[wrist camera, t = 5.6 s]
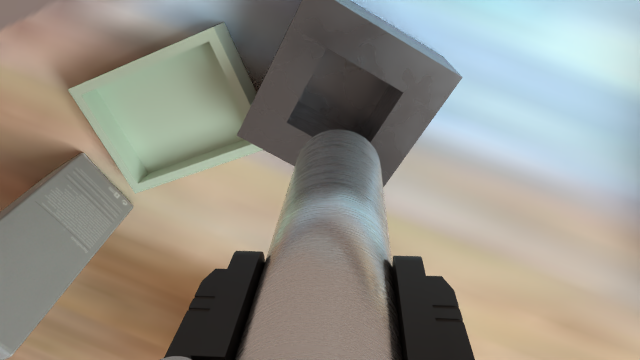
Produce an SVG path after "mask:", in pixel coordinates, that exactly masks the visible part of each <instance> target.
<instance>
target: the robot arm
mask: <svg viewBox="0 0 640 360" xmlns="http://www.w3.org/2000/svg"><path fill="white" fill-rule="evenodd" d="M264 264H265V259H264V254H263V252H255V251H236V252H235V253H234V255H233V257H232V259H231V262H230V264H229V266H228V269H215V270H214V271H213V272H212V273H210V274H209V275H208V276H207V277H206V278H205V279H204V280H203V281H202V282H201V284H200V286H199V288H198V290H197V292H196V294H195V299H193V300H192V302H191V304H190V306H189V311H187V312H186V314H185V317H184V319H183V321H182V323H181V325H180V327H179V329H178V331H177V333H176V335H175V337H174V339H173V341H172V343H171V345H170V347H169V349H168V351H167V353H166V355H165V357H164V358H163V359H160V360H235V357H236V354H237V350H238V347H239V344H240V341H241V338H242V334H243V331H244V328H245V325H246V322H247V318H248V315H249V312H250V309H251V306H252V302H253V299H254V296H255V293H256V290H257V287H258V283H259V280H260V277H261V274H262V271H263V267H264ZM392 270H393V278H394V287H395V295H396V303H397V312H398V320H399V329H400V337H401V346H402V354H403V360H475V359H474V355H473V352H472V349H471V345H470V342H469V339H468V335H467V332H466V329H465V325H464V323H463V319H462V315H461V312H460V309H459V306H458V302H457V299H456V296H455V292H454V290H453V289H452V288H451V286H450V285H449V284H448V283H447V282H446V281H445V280H444V278H443V277H442V276H426V274H425V270H424V265H423V261H422V258H421V257H419V256H393V263H392Z"/></svg>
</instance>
